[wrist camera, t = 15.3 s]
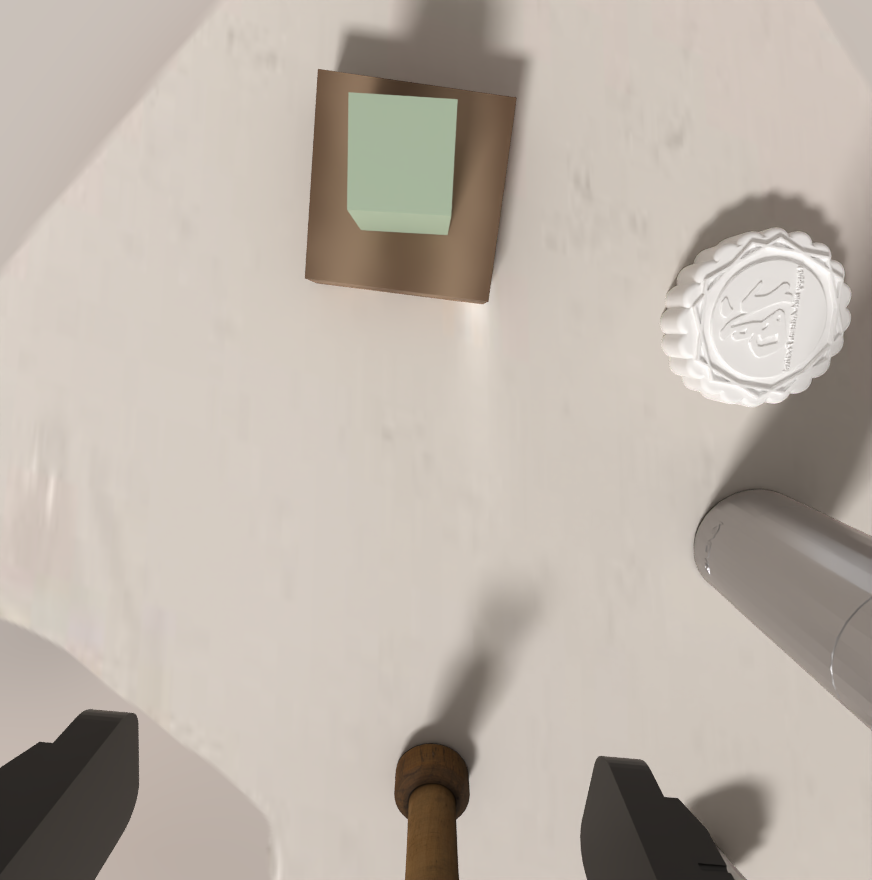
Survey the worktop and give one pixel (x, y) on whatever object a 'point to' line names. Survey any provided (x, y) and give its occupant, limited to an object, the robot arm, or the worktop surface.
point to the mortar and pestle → (431, 809)
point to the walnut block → (409, 254)
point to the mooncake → (756, 317)
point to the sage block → (401, 162)
